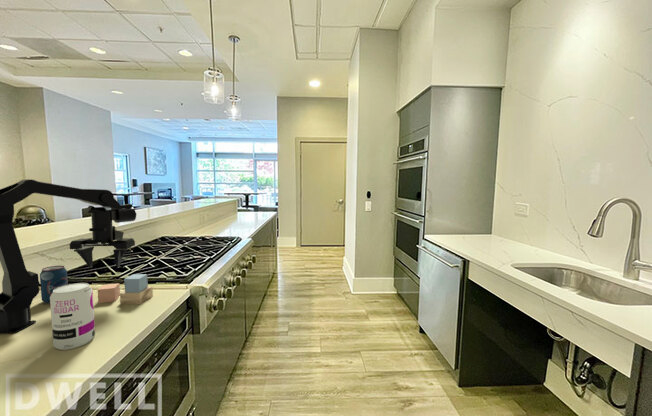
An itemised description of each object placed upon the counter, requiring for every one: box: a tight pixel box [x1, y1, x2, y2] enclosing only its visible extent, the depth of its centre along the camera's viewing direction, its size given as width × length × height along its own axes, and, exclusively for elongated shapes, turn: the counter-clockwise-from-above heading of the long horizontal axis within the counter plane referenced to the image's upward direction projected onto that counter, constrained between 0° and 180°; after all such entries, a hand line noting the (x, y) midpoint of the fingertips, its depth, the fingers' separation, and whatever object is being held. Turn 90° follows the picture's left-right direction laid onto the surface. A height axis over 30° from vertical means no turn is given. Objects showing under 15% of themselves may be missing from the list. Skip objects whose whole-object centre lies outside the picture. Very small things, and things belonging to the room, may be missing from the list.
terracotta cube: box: [97, 283, 121, 304], centre depth 101 cm, size 5×5×5 cm
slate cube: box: [123, 273, 149, 293], centre depth 101 cm, size 5×5×5 cm
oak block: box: [119, 285, 154, 305], centre depth 101 cm, size 7×7×4 cm
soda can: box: [39, 265, 69, 304], centre depth 99 cm, size 7×7×12 cm
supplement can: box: [49, 282, 96, 351], centre depth 73 cm, size 8×8×15 cm
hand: (104, 266), depth 100 cm, fingers open, 9 cm apart
